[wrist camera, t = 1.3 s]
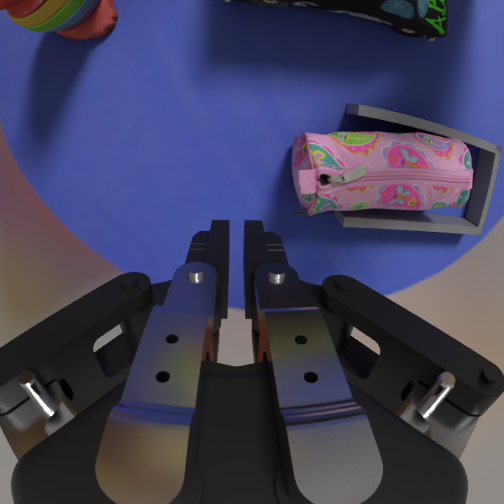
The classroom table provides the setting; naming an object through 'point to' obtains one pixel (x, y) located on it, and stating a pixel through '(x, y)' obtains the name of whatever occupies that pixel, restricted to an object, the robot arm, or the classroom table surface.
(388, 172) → the pencil case
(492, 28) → the classroom table surface
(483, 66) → the classroom table surface
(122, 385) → the robot arm
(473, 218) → the frame
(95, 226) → the classroom table surface
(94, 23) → the stacking bear
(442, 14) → the toy van
